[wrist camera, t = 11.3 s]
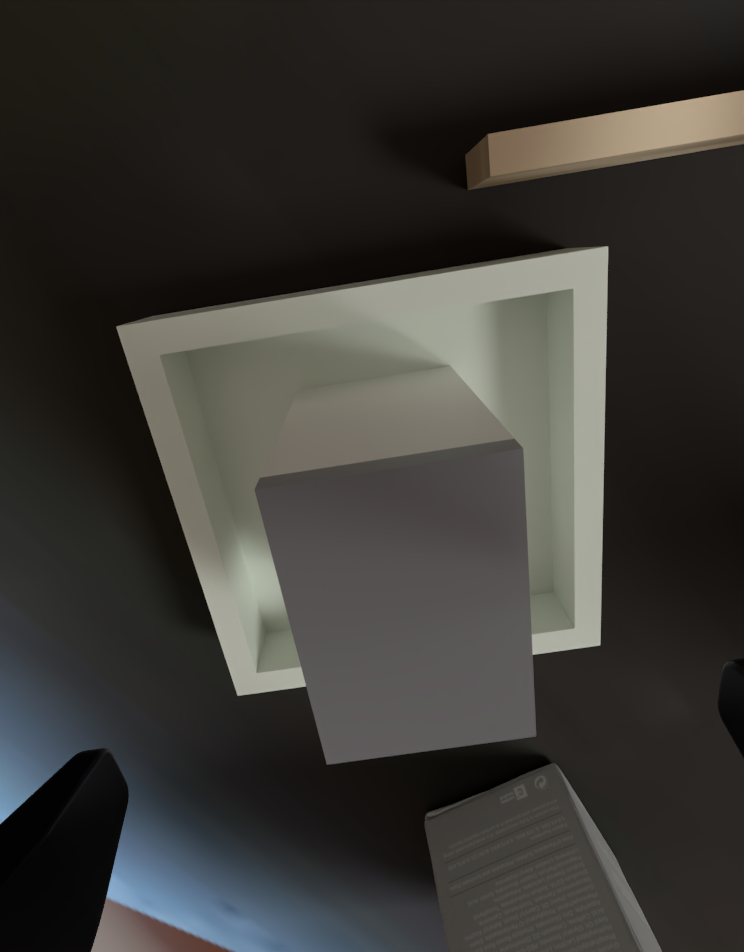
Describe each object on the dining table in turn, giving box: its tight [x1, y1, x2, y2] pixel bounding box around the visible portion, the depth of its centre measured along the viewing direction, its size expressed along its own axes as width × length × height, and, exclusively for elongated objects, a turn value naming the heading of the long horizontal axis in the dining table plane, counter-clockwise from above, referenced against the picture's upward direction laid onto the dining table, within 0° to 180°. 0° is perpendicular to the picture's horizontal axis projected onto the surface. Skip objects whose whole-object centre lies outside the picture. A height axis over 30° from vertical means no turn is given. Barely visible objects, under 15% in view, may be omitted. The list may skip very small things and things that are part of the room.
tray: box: [116, 246, 608, 696], centre depth 16 cm, size 12×12×2 cm
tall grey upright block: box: [255, 366, 536, 765], centre depth 13 cm, size 4×6×7 cm
